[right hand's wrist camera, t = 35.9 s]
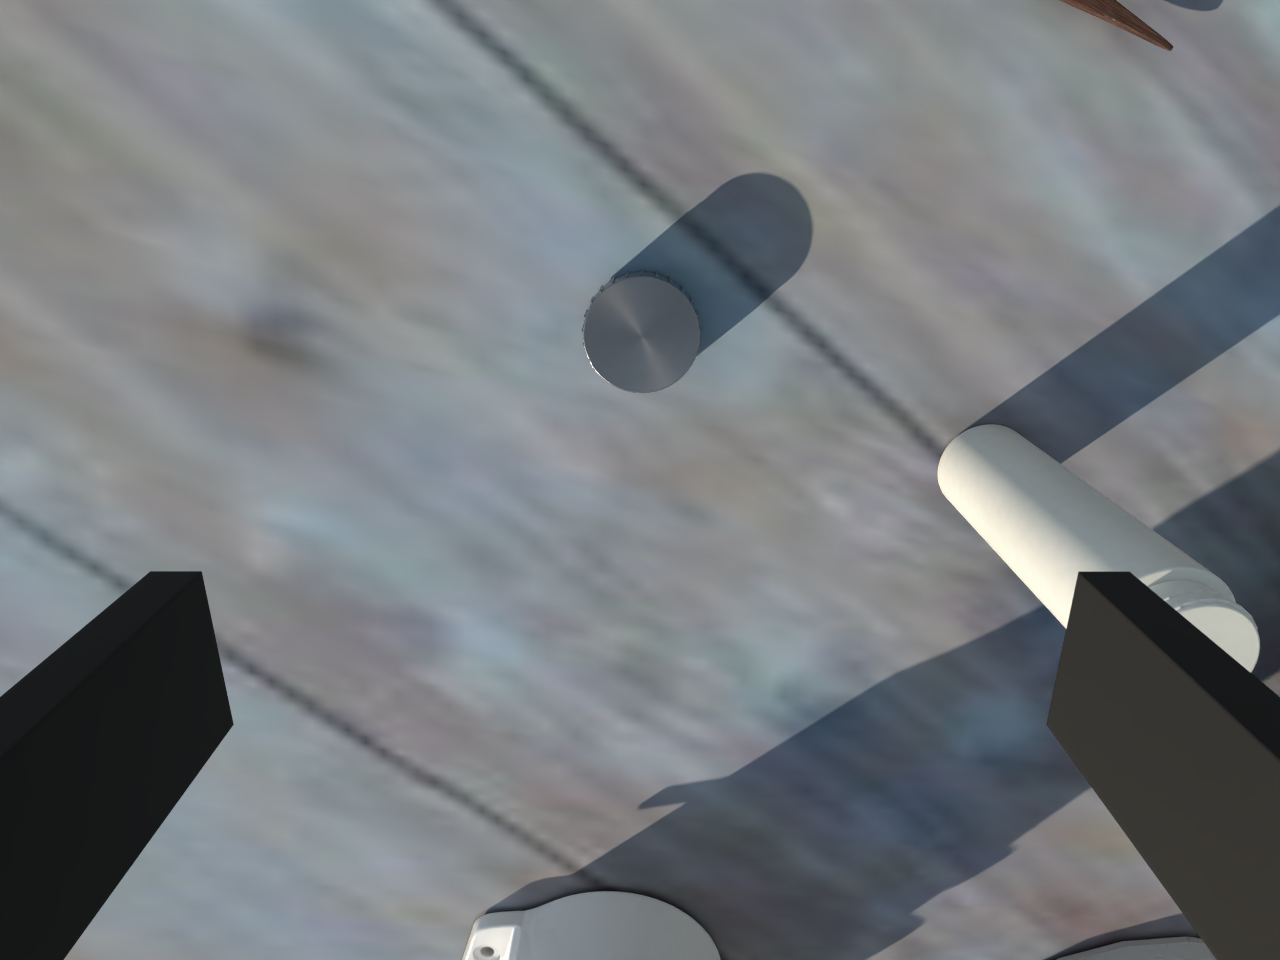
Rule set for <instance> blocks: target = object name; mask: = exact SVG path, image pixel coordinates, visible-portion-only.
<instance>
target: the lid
mask: <svg viewBox="0 0 1280 960" xmlns="http://www.w3.org/2000/svg"><path fill="white" fill-rule="evenodd" d="M590 303H591V305H590V307H589V309H588V310H586V313H585V315H584V317H586V318H585V322H584V325H583V328H582V331H583V341H584V342H583V346H584V347H585V351H586V354H587V357H588V360H589V361H590V363H591V365H592V366H593V368H594V369H595V371H596V372H597V373H598V374H599V375H600V376H601V377H602V378H603V379H604V380H605V381H607V382H608V383H610V384H611V385H613V386H615V387H617V388H619V389H622V390H625V391H629V392H634V393H649V392H654V391H658V390H661V389H664V388H666V387H668V386H670V385H672V384H673V383H675V382H676V381H678V380H679V379H680V378H681V377H682V376H683V375H684V374H685V373H686V372H687V371H688V369H689V368H690V367H691V365H692V363H693V361H694V360H695V357H696V355H697V352H698V348H699V347H700V332H701V328H700V325H699V321H698V317H699V315H698V312H697V310H696V311H695V309H694V307H693V301H692V298H691V297H688V295H687V294H686V293H685V292H684V289H683V287H682V286H679V285H677V284H676V283H675V282H673V281H672V279H671V277H669V278H667V277H665V276H662V275H660V274H658V272H656V271H655V273H652V272H643V270H641V272H631V273H629V272H628V271H627V272H626V274H624V275H621V276H618V277H616V278H615V277H613V278H612V280H611V281H610V282H608V283H607V284H606V285H605V286H603V285H602V286H601V287H600V291H599V292H598V293H597V294H596V296H595V297H592V299H591V302H590Z"/></svg>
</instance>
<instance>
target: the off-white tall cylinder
mask: <svg viewBox="0 0 1280 960" xmlns="http://www.w3.org/2000/svg"><path fill="white" fill-rule="evenodd" d="M938 481H939V485H940V488H941V490H942V492H943V494H944V495H945V496H946V498H947V499H948V500H949V501H950V502H951V503H952V504H953V505H954V506H955V508H956V509H957V510H958V511H959V512H960V513H961V514H962V515H963V516H964V517H965V519H966V520H967V521H968V522H969V523H970V524H971V525H972V526H973V527H974V528H975V529H976V531H977V532H978V533H979V534H980V535H981V536H982V537H983V538H984V539H985V540H986V541H987V543H988V544H989V545H990V546H991V547H992V548H993V549H994V550H995V551H996V552H997V554H998V555H999V556H1000V557H1001V558H1002V559H1003V560H1004V561H1005V562H1006V563H1007V564H1008V566H1009V567H1010V568H1011V569H1012V570H1013V571H1014V572H1015V573H1016V574H1017V575H1018V577H1019V578H1020V579H1021V580H1022V581H1023V582H1024V583H1025V584H1026V585H1027V586H1028V587H1029V589H1030V590H1031V591H1032V592H1033V593H1034V594H1035V595H1036V596H1037V597H1038V598H1039V600H1040V601H1041V602H1042V603H1043V604H1044V605H1045V606H1046V607H1047V608H1048V609H1049V610H1050V612H1051V613H1052V614H1053V615H1054V616H1055V617H1056V618H1057V619H1058V620H1059V621H1060V623H1061V624H1062V625H1063V626H1064V627H1065V628H1066V629H1067V624H1068V619H1069V614H1070V609H1071V605H1072V600H1073V595H1074V590H1075V585H1076V581H1077V576H1078V572H1131V573H1132V574H1133V575H1134V576H1136V577H1137V578H1138V579H1139V580H1140V581H1141V582H1143V583H1144V584H1145V585H1146V586H1147V587H1149V588H1150V589H1151V590H1152V591H1153V592H1155V593H1156V594H1157V595H1158V596H1159V597H1161V598H1162V599H1163V600H1164V601H1165V602H1167V603H1168V604H1169V605H1170V606H1171V607H1173V608H1174V609H1175V610H1176V611H1177V612H1179V613H1180V614H1181V615H1182V616H1183V617H1185V618H1186V619H1187V620H1188V621H1189V622H1191V623H1192V624H1193V625H1194V626H1195V627H1196V628H1198V629H1199V630H1200V631H1201V632H1202V633H1204V634H1205V635H1206V636H1207V637H1208V638H1210V639H1211V640H1212V641H1213V642H1214V643H1216V644H1217V645H1218V646H1219V647H1220V648H1222V649H1223V650H1224V651H1225V652H1226V653H1228V654H1229V655H1230V656H1231V657H1232V658H1234V659H1235V660H1236V661H1237V662H1238V663H1240V664H1241V665H1242V666H1243V667H1244V668H1246V669H1247V670H1248V671H1249V672H1250V673H1251V672H1252V671H1253V669H1254V667H1255V665H1256V663H1257V660H1258V657H1259V652H1260V639H1259V634H1258V631H1257V629H1258V628H1257V626H1256V624H1255V622H1254V620H1253V618H1252V616H1251V615H1250V614H1249V613H1248V612H1247V611H1246V610H1245V609H1244V608H1243V607H1242V606H1240V605H1238V604H1236V601H1235V598H1234V596H1233V593H1232V592H1231V590H1230V588H1229V587H1228V586H1227V585H1226V584H1225V582H1224V581H1222V580H1221V579H1220V578H1219V577H1218V576H1216V575H1215V574H1213V573H1212V572H1211V571H1209V570H1208V569H1206V568H1205V567H1204V566H1202V565H1201V564H1199V563H1198V562H1197V561H1195V560H1194V559H1192V558H1191V557H1190V556H1188V555H1187V554H1185V553H1184V552H1183V551H1181V550H1180V549H1178V548H1177V547H1176V546H1174V545H1173V544H1172V543H1170V542H1169V541H1167V540H1166V539H1165V538H1163V537H1162V536H1160V535H1159V534H1158V533H1156V532H1155V531H1153V530H1152V529H1151V528H1149V527H1148V526H1146V525H1145V524H1144V523H1142V522H1141V521H1139V520H1138V519H1137V518H1135V517H1134V516H1132V515H1131V514H1130V513H1128V512H1127V511H1126V510H1124V509H1123V508H1121V507H1120V506H1119V505H1117V504H1116V503H1114V502H1113V501H1112V500H1110V499H1109V498H1107V497H1106V496H1105V495H1103V494H1102V493H1100V492H1099V491H1098V490H1096V489H1095V488H1093V487H1092V486H1091V485H1089V484H1088V483H1087V482H1085V481H1084V480H1082V479H1081V478H1080V477H1078V476H1077V475H1075V474H1074V473H1073V472H1071V471H1070V470H1068V469H1067V468H1066V467H1064V466H1063V465H1061V464H1060V463H1059V462H1057V461H1056V460H1054V459H1053V458H1052V457H1050V456H1049V455H1047V454H1046V453H1045V452H1043V451H1042V450H1041V449H1039V448H1038V447H1036V446H1035V445H1034V444H1032V443H1031V442H1029V441H1028V440H1027V439H1025V438H1024V437H1022V436H1021V435H1020V434H1018V433H1017V432H1015V431H1014V430H1012V429H1010V428H1008V427H1005V426H1001V425H995V424H987V425H980V426H976V427H973V428H971V429H968V430H966V431H964V432H963V433H961V434H960V435H958V436H957V437H956V438H955V439H954V440H952V442H951V443H950V444H949V445H948V446H947V448H946V449H945V451H944V452H943V454H942V457H941V459H940V462H939V466H938Z"/></svg>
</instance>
